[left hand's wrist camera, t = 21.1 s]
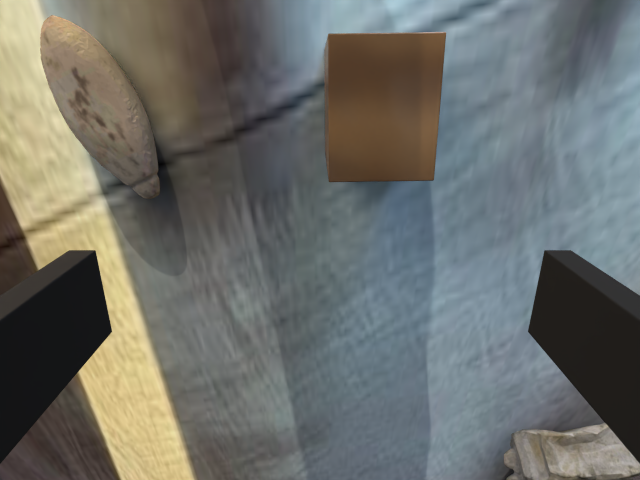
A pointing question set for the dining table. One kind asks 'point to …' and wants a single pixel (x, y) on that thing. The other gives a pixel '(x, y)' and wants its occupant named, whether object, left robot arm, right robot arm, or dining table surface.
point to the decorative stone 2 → (570, 455)
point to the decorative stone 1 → (100, 104)
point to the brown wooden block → (382, 105)
